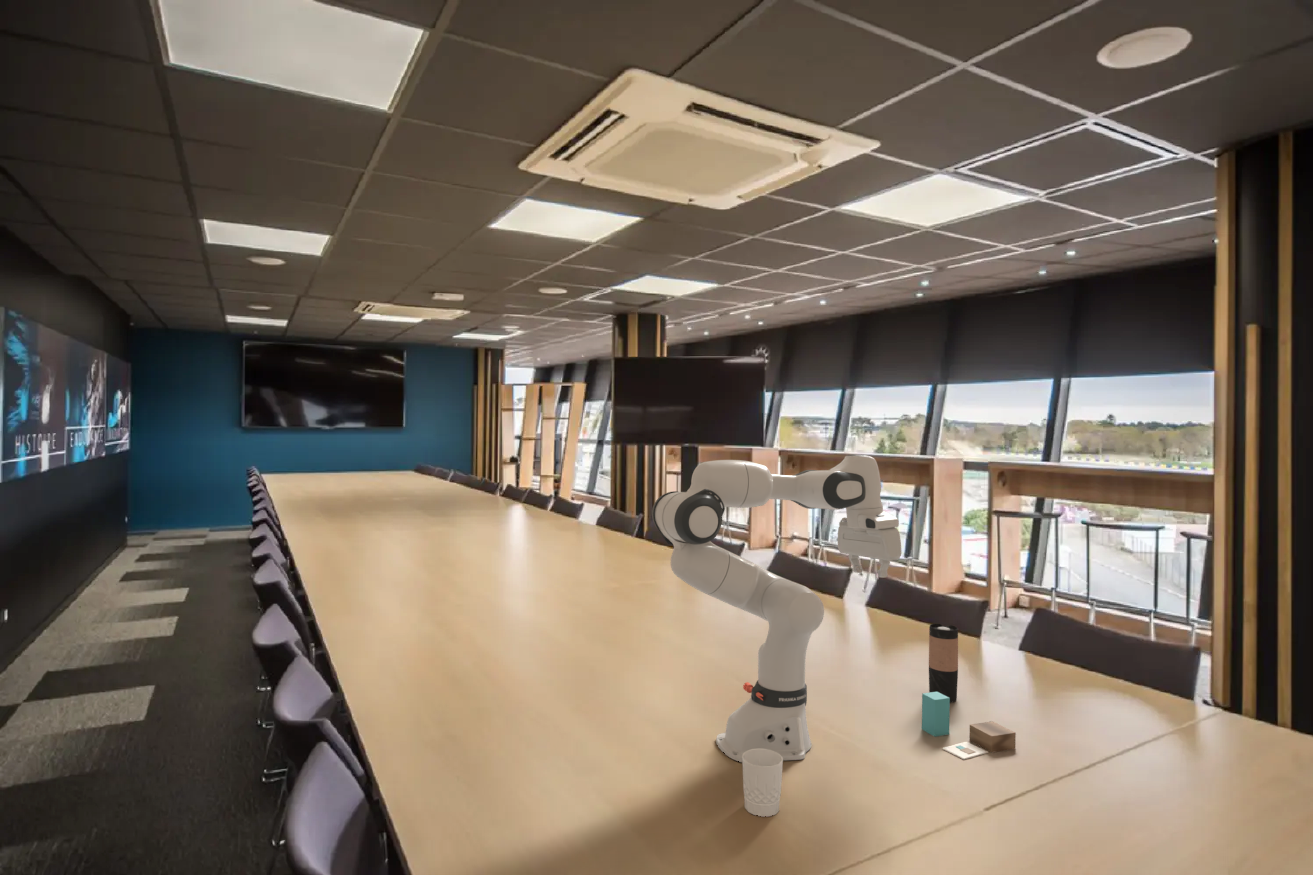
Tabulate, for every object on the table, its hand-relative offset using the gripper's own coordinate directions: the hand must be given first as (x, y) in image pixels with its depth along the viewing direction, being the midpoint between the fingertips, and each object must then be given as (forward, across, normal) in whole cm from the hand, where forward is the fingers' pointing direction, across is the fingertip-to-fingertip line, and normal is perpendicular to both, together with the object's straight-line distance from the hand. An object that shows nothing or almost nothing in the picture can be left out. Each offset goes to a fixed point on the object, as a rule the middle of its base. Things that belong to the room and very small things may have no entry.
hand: (870, 574), depth 175 cm
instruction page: (+41, +15, +11) cm, 45 cm away
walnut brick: (+42, +14, +20) cm, 48 cm away
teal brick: (+40, +4, +13) cm, 42 cm away
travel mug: (+41, -13, +32) cm, 53 cm away
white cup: (+37, +20, -46) cm, 63 cm away
